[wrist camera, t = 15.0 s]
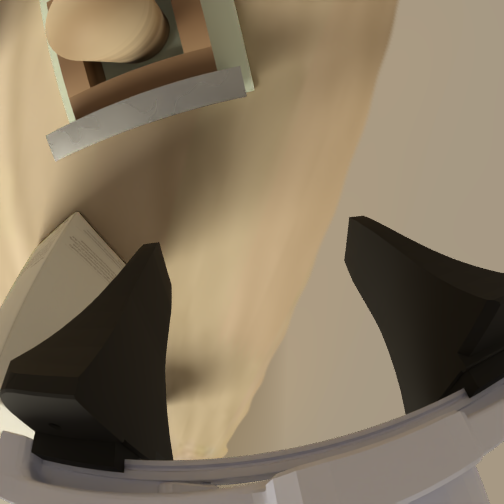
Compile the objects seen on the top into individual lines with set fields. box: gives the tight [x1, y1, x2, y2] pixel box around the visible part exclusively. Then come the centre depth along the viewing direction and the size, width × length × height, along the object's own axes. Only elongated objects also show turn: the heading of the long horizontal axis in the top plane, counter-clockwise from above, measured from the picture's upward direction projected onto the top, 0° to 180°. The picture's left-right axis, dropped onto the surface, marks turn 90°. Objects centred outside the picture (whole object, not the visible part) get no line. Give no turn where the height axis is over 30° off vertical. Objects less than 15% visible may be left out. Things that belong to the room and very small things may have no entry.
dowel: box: [45, 0, 170, 64], centre depth 10 cm, size 4×4×8 cm
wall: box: [46, 66, 247, 161], centre depth 14 cm, size 2×10×5 cm, turn 101°
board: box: [40, 0, 255, 123], centre depth 12 cm, size 15×12×1 cm
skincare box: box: [0, 212, 126, 440], centre depth 16 cm, size 8×7×16 cm
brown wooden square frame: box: [46, 0, 217, 120], centre depth 12 cm, size 8×8×3 cm
